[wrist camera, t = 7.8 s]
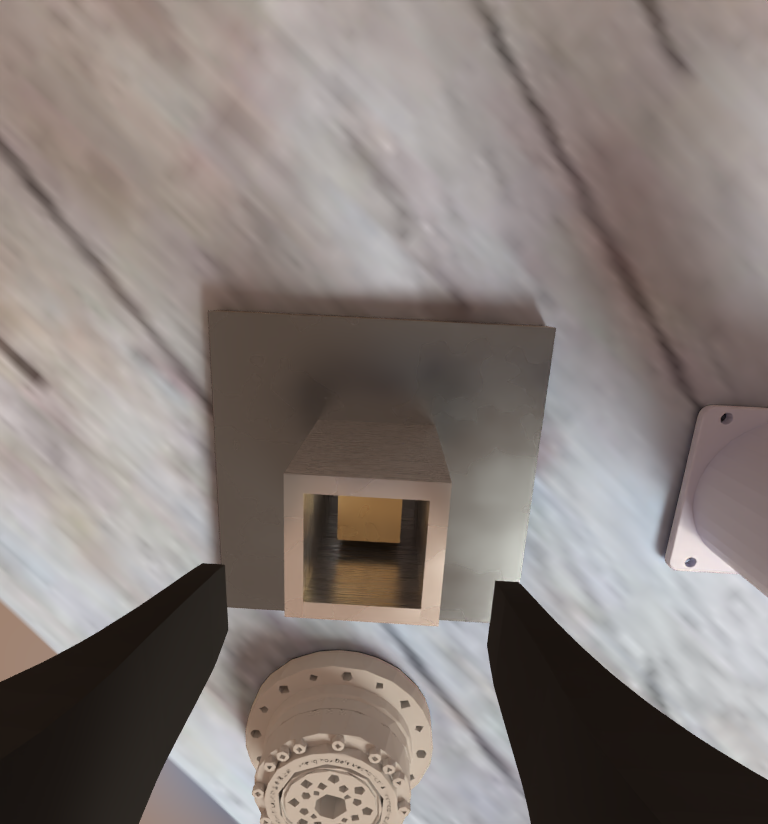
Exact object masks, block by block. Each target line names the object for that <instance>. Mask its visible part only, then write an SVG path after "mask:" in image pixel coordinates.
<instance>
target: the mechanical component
mask: <svg viewBox="0 0 768 824" xmlns="http://www.w3.org/2000/svg"><path fill="white" fill-rule="evenodd" d="M245 732H246V747H247V750H248V754H249V757H250V760H251V762H252V764H253V766H254V767H255V769H256V774H255V785H254V787H253V791H252V795H253V796H254V797H255V802H256V804H257V806H258V808H259V810H260V812H261V818H260V823H261V824H402V823H403V821H404V819H405V817H406V816H408V814H409V812H410V798H411V789H413V788H414V787H415V786H416V785H417V784H418V783H419V782H420V780H421V778H422V777H423V775H424V773H425V772H426V770H427V768H428V767H429V765H430V762H431V756H432V750H433V745H432V730H431V720H430V711H429V708H428V706H427V703H426V700H425V698H424V696H423V695H422V693H421V692H420V690H419V689H418V687H417V685H415V684H414V683H413V682H412V681H411V680H410V679H409V678H408V677H407V676H406V675H405V674H404V673H403V672H402V671H400V670H399V669H398V668H396V667H394V666H392V665H390V664H388V663H386V662H384V661H383V660H381V659H379V658H376V657H373V656H369V655H366V654H363V653H359V652H351V651H342V650H335V651H320V652H315V653H312V654H309V655H305V656H302V657H298V658H295V659H292V660H290V661H289V662H288V663H286V664H285V665H283V666H282V667H281V668H279V669H278V670H276V671H275V672H273V673H272V674H271V675H270V676H269V677H268V678H267V679H266V681H265V682H264V683H263V684H262V685H261V687H260V689H259V692H258V694H257V696H256V698H255V700H254V703H253V705H252V708H251V711H250V714H249V717H248V722H247V726H246V731H245Z"/></svg>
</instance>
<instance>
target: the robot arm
mask: <svg viewBox="0 0 768 824" xmlns="http://www.w3.org/2000/svg"><path fill="white" fill-rule="evenodd" d="M725 413H726V415H727V417H726V419H725V420H724V421H722V422H721V419H720V418H721V417H722V415H723V414H725ZM688 558H691V559H690V561H688V562H685V561H686V560H687V559H688ZM665 562H666V564H667V565H668V566H669V567H670V568H672V569H673V570H677V571H694V572H711V573H729V574H740V575H741V576H742V577H743V578H745V579H746V580H747V581H748V582H750V583H751V584H752V585H753V586H754V587H756V588H757V589H758V590H759V591H761V592H762V593H763V594H764V595H766V596H767V597H768V408H762V407H743V406H723V405H708V406H706V407H704V408H703V409H702V410H701V411H700V412H699V414H698V417H697V422H696V426H695V430H694V435H693V439H692V443H691V447H690V452H689V456H688V460H687V465H686V469H685V473H684V477H683V482H682V486H681V490H680V495H679V499H678V503H677V507H676V512H675V516H674V520H673V525H672V529H671V533H670V537H669V542H668V546H667V550H666V554H665ZM227 632H228V615H227V595H226V575H225V565H222V564H205V563H202V564H201V565H199V566H197V567H196V568H194V569H193V570H191V571H190V572H188V573H187V574H185V575H184V576H182V577H181V578H180V579H178V580H177V581H175V582H174V583H172V584H171V585H170V586H168V587H167V588H165V589H164V590H162V591H161V592H159V593H158V594H156V595H155V596H153V597H152V598H151V599H149V600H148V601H146V602H145V603H143V604H142V605H140V606H139V607H137V608H136V609H134V610H133V611H131V612H129V613H128V614H126V615H125V616H123V617H121V618H120V619H118V620H117V621H115V622H113V623H112V624H110V625H109V626H107V627H105V628H104V629H102V630H101V631H99V632H97V633H96V634H94V635H92V636H91V637H89V638H87V639H85V640H84V641H82V642H80V643H78V644H76V645H75V646H73V647H71V648H69V649H67V650H65V651H63V652H61V653H60V654H58V655H56V656H54V657H52V658H50V659H48V660H46V661H44V662H43V663H40V664H38V665H36V666H34V667H32V668H30V669H27V670H25V671H23V672H21V673H19V674H17V675H14V676H12V677H10V678H8V679H6V680H4V681H1V682H0V824H139V822H140V819H141V817H142V814H143V812H144V810H145V807H146V805H147V802H148V800H149V798H150V795H151V793H152V790H153V788H154V786H155V783H156V781H157V779H158V776H159V774H160V772H161V770H162V768H163V766H164V764H165V762H166V760H167V758H168V756H169V754H170V752H171V750H172V748H173V746H174V744H175V742H176V740H177V738H178V736H179V735H180V733H181V731H182V729H183V727H184V725H185V723H186V721H187V719H188V717H189V715H190V713H191V712H192V710H193V708H194V706H195V704H196V702H197V700H198V698H199V696H200V694H201V692H202V690H203V688H204V686H205V684H206V682H207V681H208V679H209V677H210V675H211V673H212V671H213V669H214V666H215V664H216V661H217V659H218V656H219V653H220V651H221V648H222V645H223V643H224V640H225V637H226V634H227ZM487 648H488V654H489V661H490V667H491V673H492V678H493V684H494V688H495V692H496V695H497V699H498V702H499V706H500V709H501V713H502V716H503V720H504V723H505V727H506V730H507V734H508V737H509V741H510V744H511V747H512V751H513V754H514V758H515V761H516V765H517V768H518V772H519V775H520V778H521V782H522V786H523V790H524V794H525V798H526V802H527V806H528V811H529V816H530V821H531V824H768V780H767V779H765V778H764V777H762V776H760V775H758V774H757V773H755V772H753V771H751V770H750V769H748V768H746V767H745V766H743V765H741V764H740V763H738V762H737V761H735V760H733V759H732V758H730V757H728V756H727V755H725V754H723V753H722V752H720V751H718V750H717V749H715V748H714V747H712V746H710V745H709V744H707V743H706V742H704V741H703V740H701V739H699V738H698V737H696V736H695V735H693V734H692V733H690V732H689V731H687V730H686V729H685V728H683V727H682V726H680V725H679V724H677V723H676V722H674V721H673V720H671V719H670V718H669V717H667V716H666V715H664V714H663V713H661V712H660V711H659V710H657V709H656V708H655V707H653V706H652V705H650V704H649V703H648V702H646V701H645V700H644V699H643V698H641V697H640V696H639V695H637V694H636V693H635V692H634V691H632V690H631V689H630V688H629V687H627V686H626V685H625V684H624V683H622V682H621V681H620V680H618V679H617V678H616V677H615V676H614V675H613V674H611V673H610V672H609V671H608V670H607V669H605V668H604V667H603V666H602V665H601V664H600V663H599V662H598V661H597V660H595V659H594V658H593V657H592V656H591V655H590V654H589V653H588V652H587V651H585V650H584V649H583V648H582V647H581V646H580V645H579V644H578V643H577V642H576V641H575V640H574V639H573V638H572V637H571V636H570V635H569V634H568V633H567V632H566V631H565V630H564V629H563V628H562V627H561V626H560V625H559V624H558V623H557V622H556V621H555V620H554V619H553V618H552V617H551V616H550V615H549V614H548V613H547V612H546V611H545V610H544V608H543V607H542V606H541V605H540V604H539V603H538V602H537V601H536V600H535V599H534V598H533V597H532V596H531V595H530V594H529V592H528V591H527V590H526V589H525V588H524V587H523V586H522V585H521V584H520V583H519V582H511V581H495V586H494V594H493V602H492V610H491V618H490V626H489V634H488V642H487Z"/></svg>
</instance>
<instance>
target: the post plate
mask: <svg viewBox="0 0 768 824" xmlns="http://www.w3.org/2000/svg"><path fill="white" fill-rule="evenodd" d="M208 322H209V341H210V360H211V379H212V398H213V417H214V436H215V455H216V474H217V493H218V511H219V530H220V549H221V564H222V565H225V575H226V595H227V607H232V608H248V609H265V610H282V611H285V592H284V472H285V471H286V469H287V467H288V466H289V464H290V463H291V461H292V460H293V458H294V456H295V455H296V453H297V452H298V450H299V449H300V447H301V446H302V444H303V442H304V441H305V439H306V438H307V436H308V435H309V433H310V431H311V430H312V428H313V427H314V425H315V424H316V422H317V420H318V419H321V420H339V421H357V422H375V423H393V424H411V425H429V426H436V430H437V433H438V437H439V440H440V444H441V447H442V451H443V454H444V458H445V461H446V465H447V468H448V471H449V475H450V478H451V482H452V488H451V499H450V509H449V520H448V530H447V541H446V551H445V562H444V572H443V583H442V593H441V603H440V614H439V620H449V621H465V622H482V623H490V618H491V610H492V602H493V594H494V586H495V581H511V582H519V583H520V577H521V570H522V563H523V556H524V549H525V542H526V535H527V528H528V521H529V514H530V507H531V500H532V493H533V486H534V479H535V472H536V465H537V458H538V451H539V444H540V437H541V430H542V423H543V416H544V409H545V402H546V394H547V387H548V380H549V373H550V366H551V359H552V352H553V345H554V338H555V331H556V328H554V327H549V326H538V325H518V324H497V323H477V322H456V321H436V320H415V319H395V318H374V317H354V316H333V315H313V314H292V313H272V312H251V311H230V310H213V311H208ZM415 503H416V500H408V499H391V498H374V497H356V496H339V495H331V503H330V514H338V528H337V540H353V541H370V542H388V543H400V531H401V518H412V519H414V516H415Z"/></svg>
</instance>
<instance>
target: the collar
mask: <svg viewBox="0 0 768 824" xmlns="http://www.w3.org/2000/svg"><path fill="white" fill-rule="evenodd" d="M451 488H452V482H451V478H450V475H449V471H448V468H447V465H446V461H445V458H444V454H443V451H442V447H441V444H440V440H439V437H438V433H437V430H436V426H429V425H411V424H393V423H375V422H357V421H339V420H321V419H318V420H317V422H316V424H315V425H314V427H313V428H312V430H311V431H310V433H309V435H308V436H307V438H306V439H305V441H304V442H303V444H302V446H301V447H300V449H299V450H298V452H297V453H296V455H295V456H294V458H293V460H292V461H291V463H290V464H289V466H288V467H287V469H286V471H285V472H284V592H285V617H299V618H315V619H331V620H347V621H363V622H379V623H394V624H410V625H426V626H438V624H439V614H440V603H441V593H442V583H443V572H444V562H445V551H446V541H447V530H448V520H449V509H450V499H451ZM331 495H339V496H356V497H374V498H391V499H408V500H416V503H415V516H414V519H412V518H401V531H400V543H388V542H370V541H353V540H337V528H338V514H330V503H331Z"/></svg>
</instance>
